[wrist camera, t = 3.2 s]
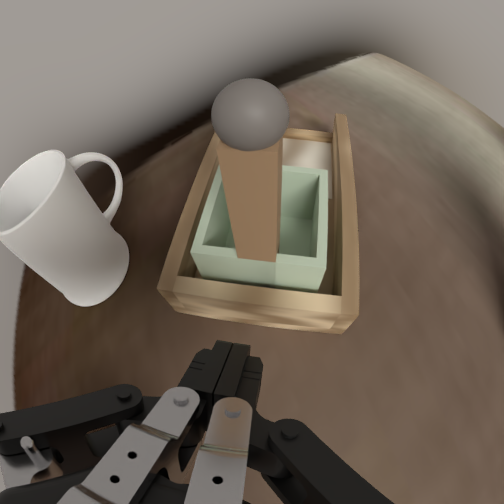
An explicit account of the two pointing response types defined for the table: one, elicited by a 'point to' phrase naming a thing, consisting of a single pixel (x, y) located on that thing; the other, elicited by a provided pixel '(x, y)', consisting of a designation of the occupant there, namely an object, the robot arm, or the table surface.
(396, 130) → the table surface
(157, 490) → the robot arm
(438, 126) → the table surface
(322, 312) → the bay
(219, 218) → the box
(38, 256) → the mug
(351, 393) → the table surface
